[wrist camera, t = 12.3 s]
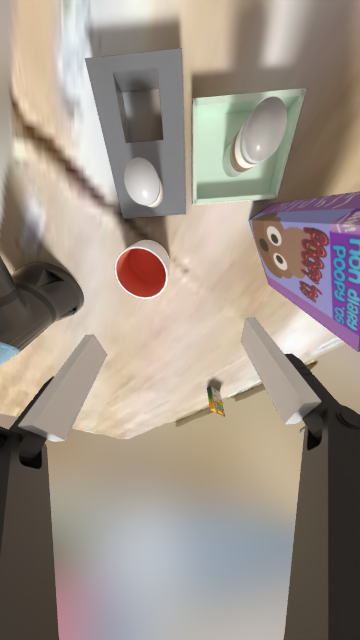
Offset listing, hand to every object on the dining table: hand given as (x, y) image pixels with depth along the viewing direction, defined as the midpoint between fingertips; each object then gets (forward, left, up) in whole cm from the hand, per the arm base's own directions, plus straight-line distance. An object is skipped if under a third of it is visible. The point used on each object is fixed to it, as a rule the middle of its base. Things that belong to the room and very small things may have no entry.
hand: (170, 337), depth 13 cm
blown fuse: (+11, +16, -27) cm, 33 cm away
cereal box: (+23, +1, -28) cm, 36 cm away
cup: (-6, 0, -28) cm, 28 cm away
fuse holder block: (-3, +17, -27) cm, 32 cm away
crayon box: (+15, -64, -28) cm, 71 cm away
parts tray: (+12, +16, -27) cm, 34 cm away
